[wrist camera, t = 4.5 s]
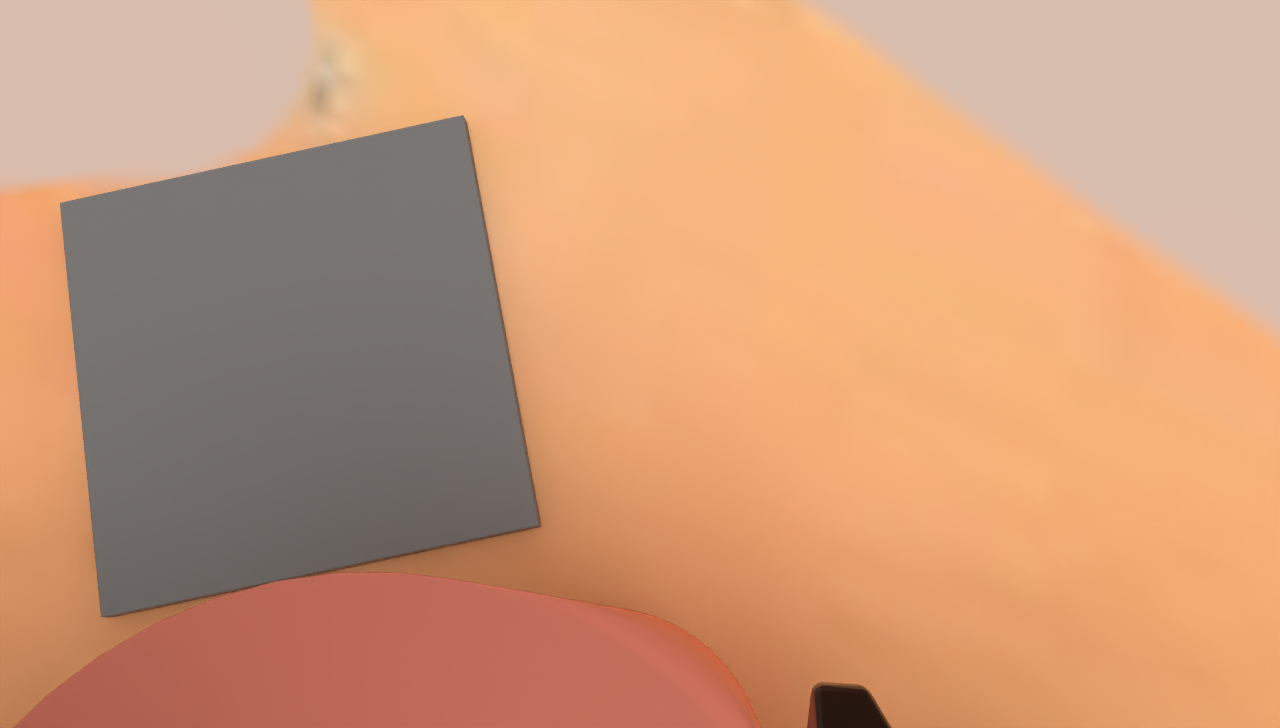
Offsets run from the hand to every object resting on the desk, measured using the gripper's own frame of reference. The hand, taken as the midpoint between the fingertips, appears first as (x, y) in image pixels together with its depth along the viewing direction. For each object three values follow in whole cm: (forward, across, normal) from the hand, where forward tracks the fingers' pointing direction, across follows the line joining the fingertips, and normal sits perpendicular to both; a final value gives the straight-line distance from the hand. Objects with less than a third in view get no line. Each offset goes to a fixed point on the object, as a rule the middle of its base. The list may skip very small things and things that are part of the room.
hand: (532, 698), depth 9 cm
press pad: (+10, +6, +3) cm, 12 cm away
